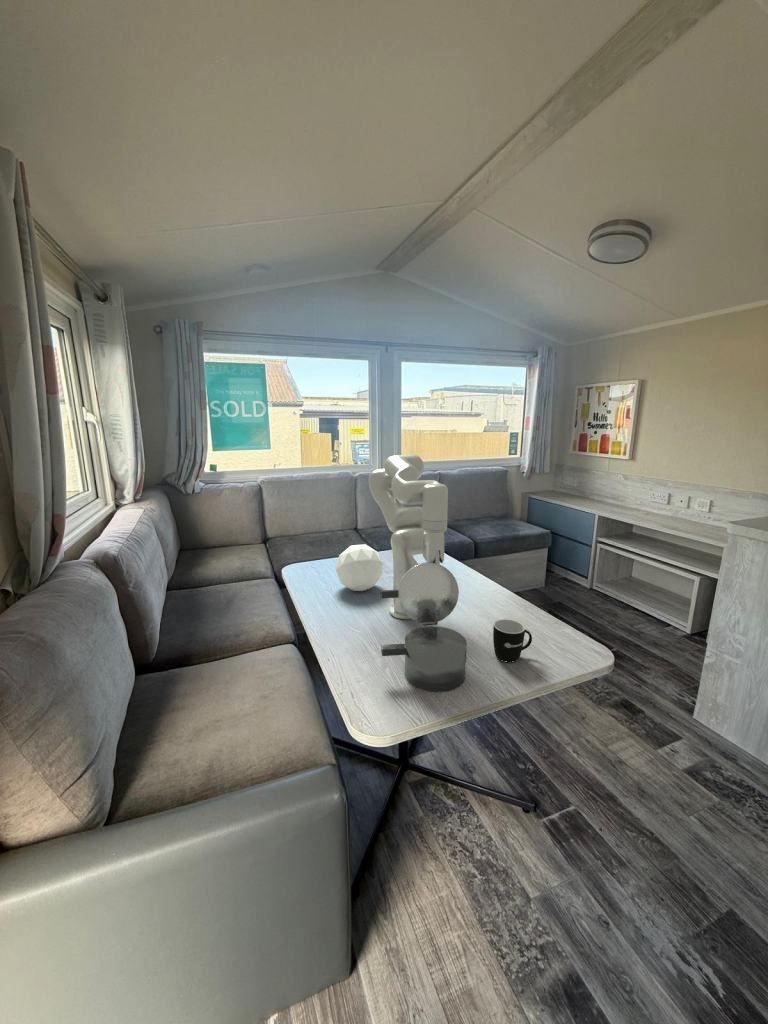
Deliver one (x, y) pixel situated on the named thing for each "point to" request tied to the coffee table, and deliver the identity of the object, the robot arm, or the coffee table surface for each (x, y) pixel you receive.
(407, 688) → the coffee table surface
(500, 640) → the mug
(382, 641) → the coffee table surface
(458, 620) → the coffee table surface
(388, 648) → the pot
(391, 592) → the lid
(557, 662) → the coffee table surface
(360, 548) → the geometric polyhedron
